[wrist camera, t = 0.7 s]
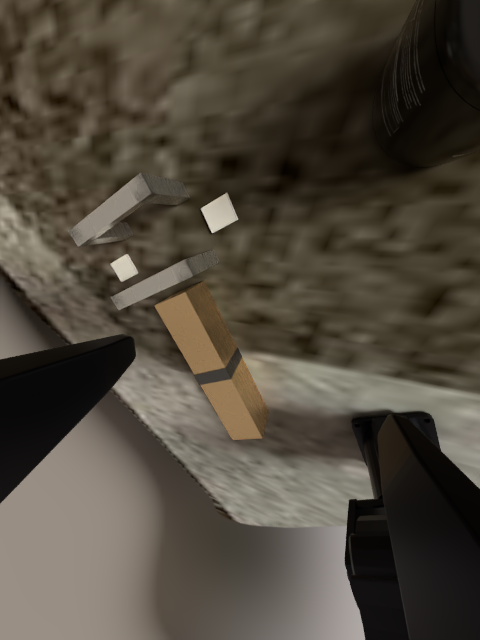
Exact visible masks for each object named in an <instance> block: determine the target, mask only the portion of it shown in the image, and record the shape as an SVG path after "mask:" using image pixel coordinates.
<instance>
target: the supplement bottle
mask: <svg viewBox="0 0 480 640" xmlns="http://www.w3.org/2000/svg"><path fill="white" fill-rule="evenodd" d="M373 124H374V130H375V134H376V137H377V139H378V141H379V143H380V145H381V147H382V148H383V150H384V151H385V152H386V153H387V154H388V155H389V156H390V157H391V158H393V159H394V160H396V161H398V162H400V163H402V164H405V165H409V166H414V167H429V166H436V165H441V164H444V163H448V162H451V161H454V160H457V159H459V158H462V157H465V156H467V155H470V154H472V153H475V152H478V151H480V0H416V2H415V4H414V6H413V8H412V10H411V12H410V14H409V16H408V18H407V20H406V22H405V24H404V26H403V29H402V31H401V33H400V35H399V37H398V39H397V41H396V43H395V45H394V47H393V49H392V51H391V54H390V56H389V58H388V60H387V62H386V65H385V67H384V69H383V71H382V74H381V77H380V79H379V82H378V86H377V89H376V93H375V97H374V104H373Z"/></svg>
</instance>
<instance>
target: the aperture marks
mask: <svg viewBox="0 0 480 640" xmlns="http://www.w3.org/2000/svg"><path fill="white" fill-rule="evenodd" d="M201 210H202V212H203V214H204V217H205V219H206V221H207V223H208V225H209V228H210V230H211V232H212V233H214V232H216V231H218V230H220V229H222V228H224V227H225V226H227V225H229V224H231V223H233V222H235V221H237V220H238V217H237V215H236V213H235V210H234V208H233V205H232V203H231V200H230V198H229V196H228V193H225V194H224V195H222V196H221V197H219V198H217V199H216V200H214V201H212V202H211V203H209V204H208V205H206V206H204V207H203V208H201ZM111 266H112V268H113V269H114V271H115V273H116V274H117V276H118V278H119V279H120V281H121V282H123V281H125V280H127V279H129V278H131V277H132V276H134V275H136V274H138V271H137V269H136V267H135V266H134V264H133V262H132V260H131V259H130V257H129V255H128V254H126V255H124V256H122V257H121V258H119V259H118V260H116V261H114V262H113V263H111Z"/></svg>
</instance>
